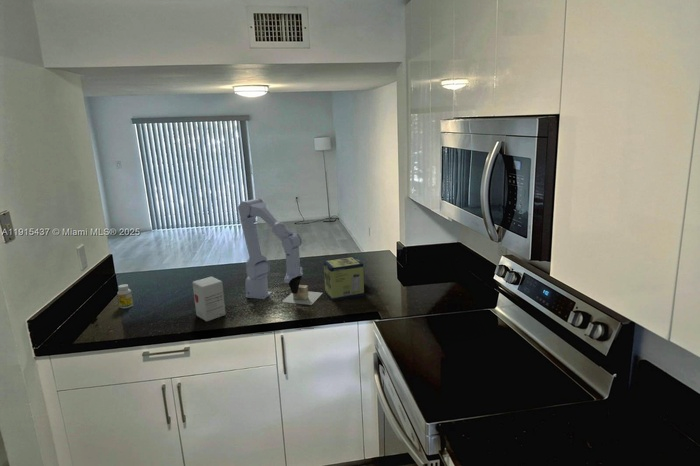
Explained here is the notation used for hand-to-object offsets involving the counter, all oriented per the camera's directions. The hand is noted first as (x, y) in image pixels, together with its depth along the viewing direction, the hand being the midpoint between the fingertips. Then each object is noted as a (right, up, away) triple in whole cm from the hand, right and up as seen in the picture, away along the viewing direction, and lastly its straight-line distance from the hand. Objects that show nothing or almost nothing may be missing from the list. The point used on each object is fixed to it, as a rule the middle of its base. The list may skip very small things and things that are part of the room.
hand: (294, 293), depth 194 cm
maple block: (+2, -3, +7) cm, 8 cm away
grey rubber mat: (+2, -3, +9) cm, 10 cm away
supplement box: (-34, -8, -7) cm, 36 cm away
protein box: (+21, -2, +11) cm, 24 cm away
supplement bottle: (-74, -7, +5) cm, 75 cm away
